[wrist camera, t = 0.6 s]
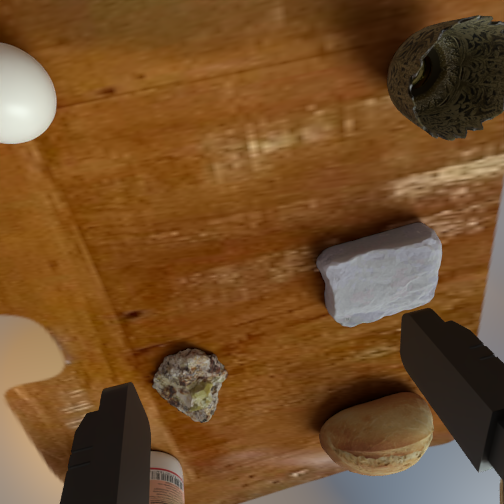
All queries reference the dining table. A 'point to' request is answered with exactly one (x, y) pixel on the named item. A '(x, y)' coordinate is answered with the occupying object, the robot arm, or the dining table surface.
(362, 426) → the bread roll
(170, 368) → the mineral rock
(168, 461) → the fruit juice
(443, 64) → the cup
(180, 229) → the dining table surface
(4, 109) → the cue ball
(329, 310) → the stone block
